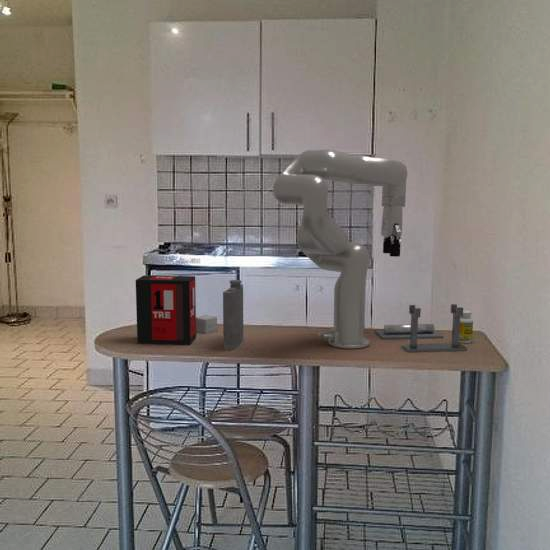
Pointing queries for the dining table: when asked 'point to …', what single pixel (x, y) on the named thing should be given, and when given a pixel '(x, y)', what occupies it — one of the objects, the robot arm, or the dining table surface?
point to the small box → (206, 324)
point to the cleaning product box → (166, 310)
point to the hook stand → (452, 346)
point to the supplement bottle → (466, 327)
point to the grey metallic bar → (408, 329)
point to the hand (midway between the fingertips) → (391, 254)
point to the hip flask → (233, 316)
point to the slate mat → (408, 335)
